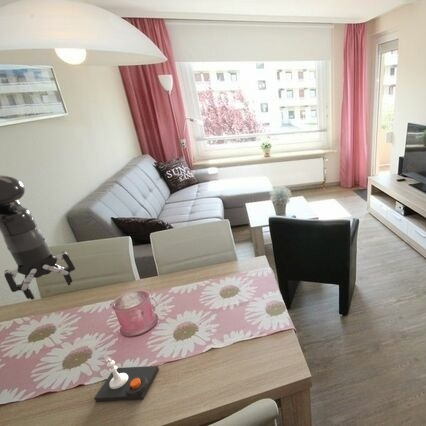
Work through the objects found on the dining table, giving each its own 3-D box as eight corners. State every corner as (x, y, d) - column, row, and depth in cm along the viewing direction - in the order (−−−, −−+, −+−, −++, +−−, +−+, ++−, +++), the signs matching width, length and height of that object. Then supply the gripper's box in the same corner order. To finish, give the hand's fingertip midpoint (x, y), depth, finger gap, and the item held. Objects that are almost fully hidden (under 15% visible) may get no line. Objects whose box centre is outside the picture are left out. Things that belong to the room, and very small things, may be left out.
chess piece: (114, 375, 93) (104, 352, 89) (131, 373, 93) (121, 350, 89) (106, 390, 88) (94, 367, 84) (123, 387, 89) (112, 365, 85)
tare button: (138, 389, 87) (136, 385, 86) (129, 389, 87) (128, 386, 86) (143, 381, 89) (141, 377, 89) (134, 381, 89) (132, 378, 89)
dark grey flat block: (143, 400, 87) (140, 392, 85) (95, 403, 87) (91, 395, 85) (159, 369, 96) (157, 362, 95) (116, 371, 96) (112, 364, 95)
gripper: (58, 231, 88) (78, 275, 95) (-9, 250, 79) (18, 297, 86) (62, 239, 84) (82, 284, 90) (-9, 260, 74) (20, 309, 81)
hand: (51, 290), depth 88 cm, fingers open, 8 cm apart
